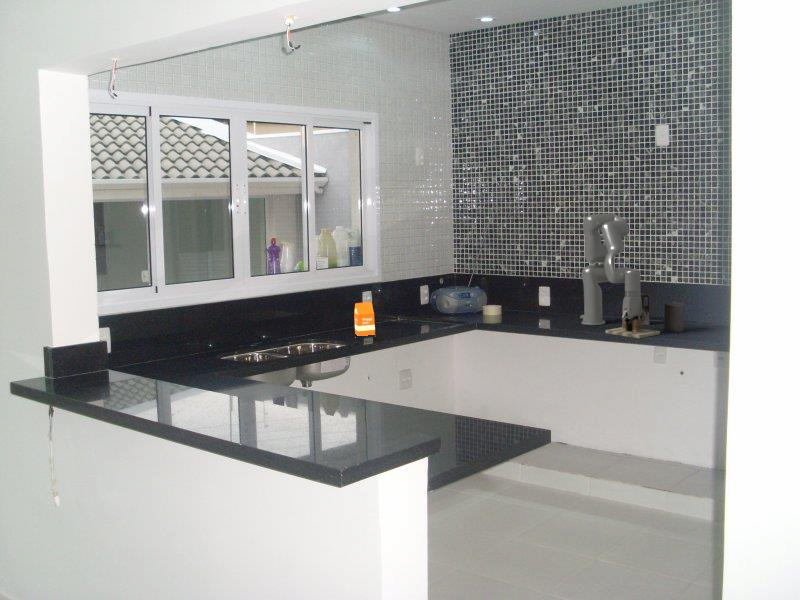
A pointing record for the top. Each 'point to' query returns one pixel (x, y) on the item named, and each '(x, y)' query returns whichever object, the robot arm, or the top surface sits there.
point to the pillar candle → (674, 317)
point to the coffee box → (645, 309)
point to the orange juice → (364, 319)
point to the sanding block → (634, 325)
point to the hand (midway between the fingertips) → (633, 329)
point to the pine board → (632, 333)
